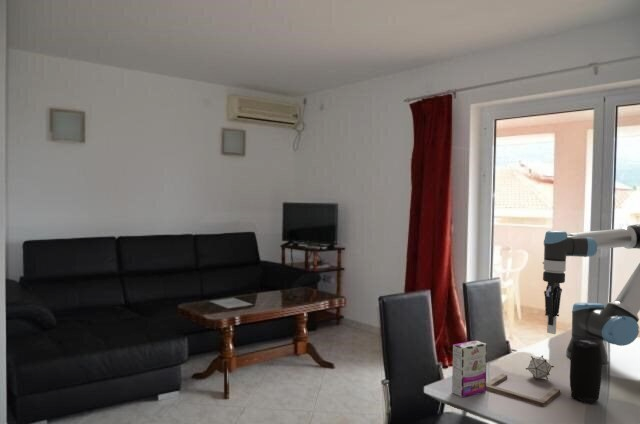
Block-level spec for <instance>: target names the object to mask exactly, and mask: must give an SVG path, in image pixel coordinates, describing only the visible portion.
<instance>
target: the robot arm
mask: <svg viewBox="0 0 640 424" xmlns="http://www.w3.org/2000/svg"><path fill="white" fill-rule="evenodd" d="M543 247H544V250H543V251H544V252H543V261H542V264H543V270H544V271H543V274H542V281H543V282H545V283H547V286H546V287H545V288H546V289H545V290H544V292H543V294H544V307H545V313H544V316H546V317H547V322H546V324H547V325H546V333H547V334H551V335H556V334H557V317H560V314H559V313H560V305H561V298H562V293H563V289H562V287H561V285H560V284H565V282H566V273H565V272H566V268H567V267H566V266H567V265H566V263H567V257H583V258H587V257H589V258H591V257H594V256H596V254H597V251H598V250H604V249H613V248H625V249H627V250H628V249H630V250H631V249H637V250H638V249H639V250H640V223H639V224H632V225H624V226H622V227H620V228H616V229H614V228H613V229H606V230H605V229H604V230H593V231H581V232H572V233H567V232H566V231H562V230H547V231H546V232H545V234H544V239H543ZM572 305H573V306H572V310H571V314H572V315H571V337H570V340H569V343H568V345H567V348H566V352H565V355H566V357H567V358H569V359H571V351H572V345H573V341H574V338H575V337H585V338H587V339H591V340H599V341H600V343H601V346H600V348H601V356H602V365H603V364H607V363H608V359H609V358H608V356H609V355H608V352H607V350H606V346H605V343H604V341H605V342H607V343H608V344H611V345H616V346H620V347H622V346H623V347H624V346H627V345H628V346H629V345H631V343H634V341H635V340H636V339H637V338H638V337H639V333H640V330H639V329H640V326H639V320H640V318H639V315H638V314H639V312H640V262H639V263H638V265H637V266H636V267H635V269H634V270H633V272H632V274H631V275H630V277H629V279H627V282H626V283H625V285H624V286H623V288H622V289H621V291H620V292H619V294H618V295H617V297H616V298H615V299H614V301H610V302H607V303H606V305H605V304H604V303H598V302H597V303H596V302H575V303H574V304H572Z"/></svg>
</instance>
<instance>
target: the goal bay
mask: <svg viewBox="0 0 640 424" xmlns="http://www.w3.org/2000/svg"><path fill="white" fill-rule="evenodd" d="M507 379H508V375H507V374H504V373H501V374H499V375H497V376H496V377H494V378H492V379H490V380H488V381H486V391H490V392H492V393H497V394H499V395H503V396H507V397H509V398H513V399H516V400H519V401H522V402H526V403H529V404H532V405H535V406H539V407H545V406H546V405H547V404H549V403H550V402H551V401H553V400H554V399H555V398H556V397H558V396H559V395H560V394H561V389H559V388H556V387H554V388H552V389H551V390H549V391H548V392H547V393H545V394H544V395H543V396H541V397H540V398H536V397H532V396H529V395H525V394H522V393H519V392H515V391H512V390H508V389H505V388H502V387H498V386H497V385H499V384H500V383H502V382H504V381H505V380H507Z"/></svg>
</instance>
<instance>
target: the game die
mask: <svg viewBox="0 0 640 424" xmlns="http://www.w3.org/2000/svg"><path fill="white" fill-rule="evenodd" d="M530 358H531V359H530V361H529V365H528V366H527V367H525V370H528V371H529V372H530V373H531V374H532V376H533V377H535V378H536V379H535V380H536V381H538V380H539V379H545V378H546V379H547V380H549V378H548V376H551V374H550V372H551V370H552V368H554V367H555V366H554V365H551V364H550V363H549V362H548V361H547V359H545V358H544V355H543V354H542V355H541V356H540V357H533V356H530Z"/></svg>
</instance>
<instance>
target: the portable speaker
mask: <svg viewBox="0 0 640 424" xmlns="http://www.w3.org/2000/svg"><path fill="white" fill-rule="evenodd" d="M600 346H601V343H600V341H599V340H591V339H587V338H585V337H575V338H574V341H573V345H572V351H571V358H570V364H569V387H570V392H571V393H570V394H571V395H570V397H571V399H578V400H580V401H581V402H582V404H583V403H584V404H586V405H594V404H595V405H596V403H597V402H598V400H599V399H600V394H601V393H600V392H601V385H602V372H603V371H602V368H603V367H602V366H603V364H602V356H601V348H600Z"/></svg>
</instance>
